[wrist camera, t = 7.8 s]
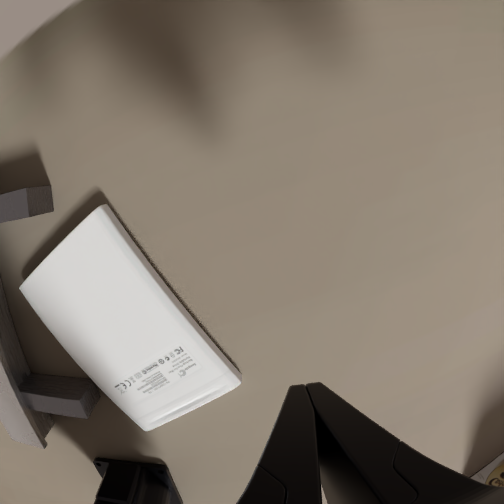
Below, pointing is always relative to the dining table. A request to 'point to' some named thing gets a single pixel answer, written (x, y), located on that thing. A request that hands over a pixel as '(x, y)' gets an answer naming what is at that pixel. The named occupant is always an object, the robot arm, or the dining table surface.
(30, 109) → the dining table surface
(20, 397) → the grey door handle
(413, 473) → the robot arm
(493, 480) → the coffee box
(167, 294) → the external hard drive
